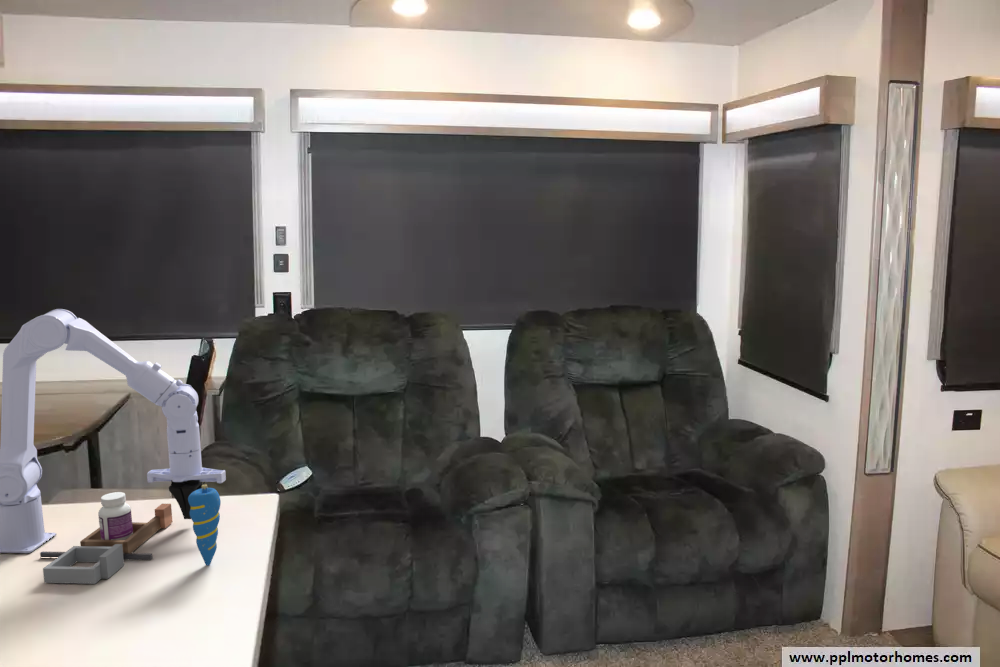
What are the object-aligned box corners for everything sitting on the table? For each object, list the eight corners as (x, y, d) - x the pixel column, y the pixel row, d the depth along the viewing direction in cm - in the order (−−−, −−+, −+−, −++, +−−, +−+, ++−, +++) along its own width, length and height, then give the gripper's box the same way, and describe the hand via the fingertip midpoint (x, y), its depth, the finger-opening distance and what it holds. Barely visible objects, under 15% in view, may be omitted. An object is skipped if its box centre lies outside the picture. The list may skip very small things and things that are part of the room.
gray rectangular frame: (44, 582, 129) (42, 561, 128) (75, 559, 137) (73, 538, 136) (102, 583, 128) (100, 561, 127) (129, 560, 137) (127, 539, 136)
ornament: (186, 567, 134) (179, 484, 132) (210, 556, 138) (204, 474, 136) (207, 574, 132) (201, 488, 129) (231, 561, 136) (225, 479, 134)
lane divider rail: (40, 558, 138) (40, 552, 138) (42, 556, 139) (42, 551, 139) (151, 560, 137) (150, 554, 137) (152, 558, 138) (152, 553, 137)
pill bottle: (140, 540, 145) (135, 490, 144) (123, 552, 140) (119, 501, 139) (112, 539, 146) (107, 489, 144) (95, 551, 141) (90, 500, 139)
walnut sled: (81, 554, 139) (79, 534, 138) (125, 521, 154) (123, 503, 153) (133, 555, 138) (131, 535, 138) (172, 522, 153) (171, 503, 152)
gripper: (136, 455, 145) (142, 525, 148) (213, 456, 145) (218, 526, 147) (155, 444, 152) (160, 510, 154) (228, 444, 151) (232, 511, 154)
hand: (189, 517), depth 151 cm, fingers closed
